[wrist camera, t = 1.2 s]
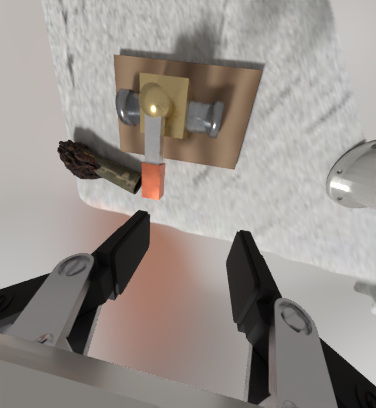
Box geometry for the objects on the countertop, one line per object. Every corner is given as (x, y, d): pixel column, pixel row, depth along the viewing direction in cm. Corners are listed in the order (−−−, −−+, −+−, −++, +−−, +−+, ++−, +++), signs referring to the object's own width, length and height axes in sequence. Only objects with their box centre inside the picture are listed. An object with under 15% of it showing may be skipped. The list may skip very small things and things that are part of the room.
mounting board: (259, 74, 22) (262, 70, 21) (233, 168, 28) (234, 169, 27) (119, 59, 24) (113, 54, 22) (124, 150, 30) (120, 151, 29)
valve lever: (150, 90, 18) (138, 80, 15) (174, 93, 17) (166, 83, 14) (148, 189, 23) (140, 196, 20) (167, 192, 23) (160, 200, 20)
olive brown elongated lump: (146, 173, 32) (134, 180, 27) (138, 196, 35) (126, 206, 30) (75, 135, 31) (48, 134, 26) (72, 162, 34) (48, 166, 28)
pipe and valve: (223, 100, 23) (229, 83, 16) (215, 143, 26) (216, 144, 19) (132, 88, 24) (102, 68, 18) (133, 131, 27) (108, 127, 21)
